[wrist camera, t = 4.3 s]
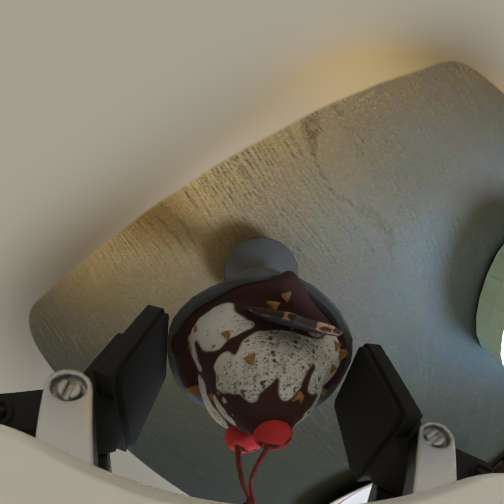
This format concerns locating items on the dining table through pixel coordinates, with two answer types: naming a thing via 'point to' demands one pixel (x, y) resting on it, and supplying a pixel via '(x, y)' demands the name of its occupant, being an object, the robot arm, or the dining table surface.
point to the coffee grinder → (499, 467)
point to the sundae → (259, 350)
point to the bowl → (492, 310)
